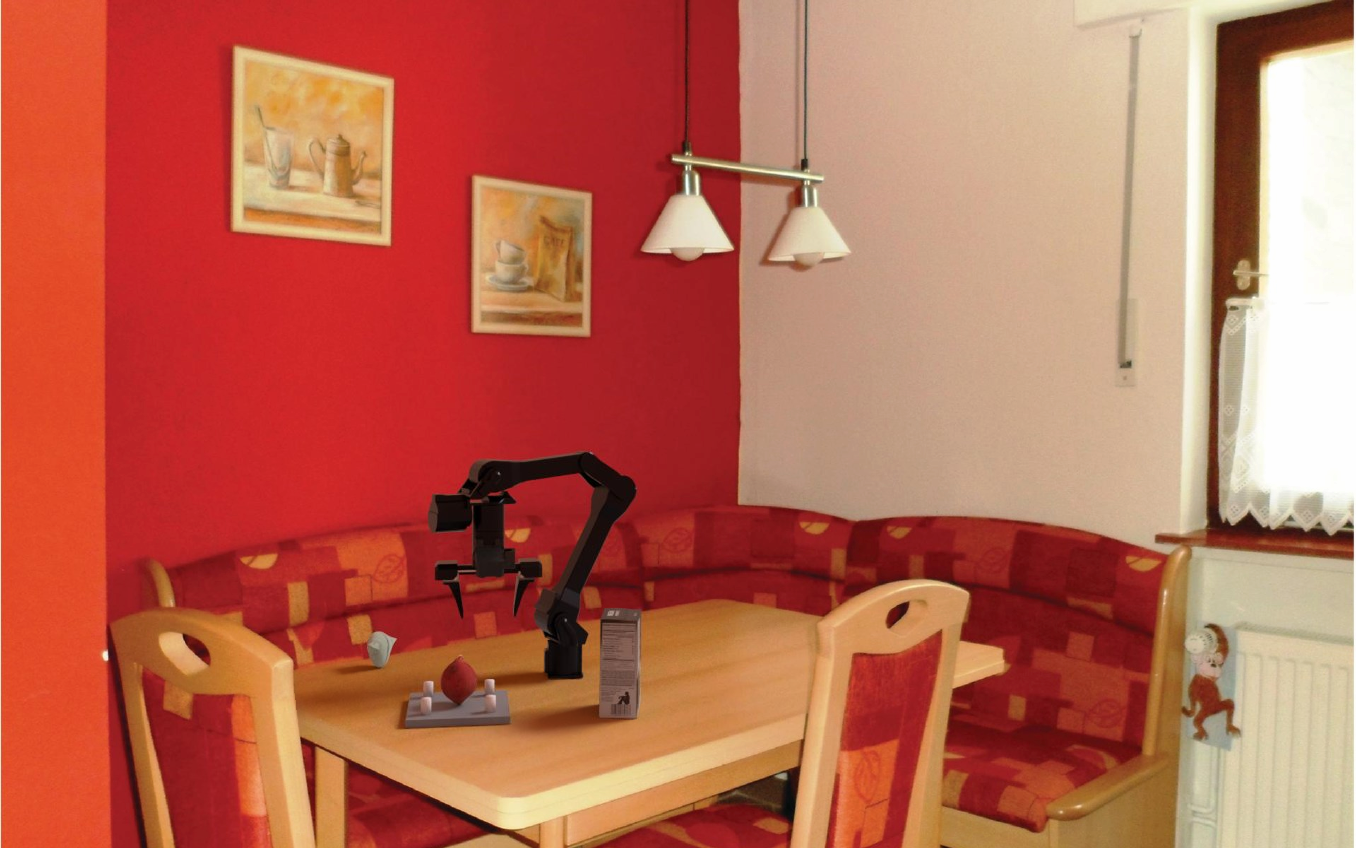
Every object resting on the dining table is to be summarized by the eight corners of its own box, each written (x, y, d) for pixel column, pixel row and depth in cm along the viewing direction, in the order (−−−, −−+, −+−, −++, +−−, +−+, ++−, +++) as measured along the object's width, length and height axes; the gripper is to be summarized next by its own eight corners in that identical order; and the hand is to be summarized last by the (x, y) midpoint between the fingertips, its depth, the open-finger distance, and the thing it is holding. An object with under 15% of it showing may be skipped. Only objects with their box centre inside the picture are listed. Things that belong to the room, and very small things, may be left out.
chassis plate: (506, 696, 192) (507, 675, 192) (510, 724, 176) (510, 700, 176) (410, 700, 189) (410, 678, 189) (405, 728, 173) (405, 704, 173)
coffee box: (603, 703, 189) (604, 607, 188) (641, 703, 189) (642, 608, 188) (597, 718, 180) (598, 618, 179) (637, 719, 179) (639, 618, 179)
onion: (459, 711, 178) (459, 661, 178) (432, 705, 181) (433, 656, 181) (484, 703, 183) (484, 654, 183) (457, 697, 186) (457, 649, 186)
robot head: (376, 673, 207) (376, 636, 206) (357, 671, 208) (357, 635, 208) (399, 663, 214) (399, 628, 214) (380, 662, 215) (381, 626, 215)
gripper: (434, 537, 190) (434, 628, 190) (545, 534, 194) (545, 624, 194) (434, 529, 201) (435, 615, 201) (539, 526, 205) (539, 612, 205)
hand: (488, 617), depth 200 cm, fingers open, 9 cm apart
